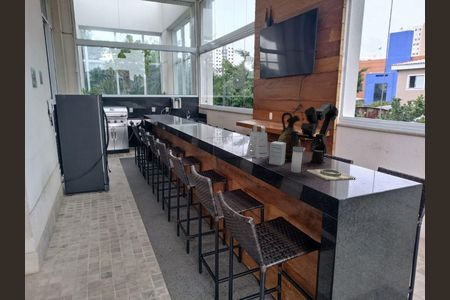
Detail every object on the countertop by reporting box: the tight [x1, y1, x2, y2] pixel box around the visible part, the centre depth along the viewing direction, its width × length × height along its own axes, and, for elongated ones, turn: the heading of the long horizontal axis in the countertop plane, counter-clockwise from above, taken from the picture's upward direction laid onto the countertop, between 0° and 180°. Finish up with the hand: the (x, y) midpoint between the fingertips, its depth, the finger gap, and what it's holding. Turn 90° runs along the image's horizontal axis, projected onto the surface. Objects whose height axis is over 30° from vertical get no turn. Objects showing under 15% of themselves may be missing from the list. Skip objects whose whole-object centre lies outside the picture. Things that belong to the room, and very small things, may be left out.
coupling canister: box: [290, 146, 304, 174], centre depth 145 cm, size 5×5×13 cm
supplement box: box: [268, 140, 286, 166], centre depth 161 cm, size 7×7×13 cm
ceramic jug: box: [276, 111, 302, 161], centre depth 175 cm, size 17×15×30 cm
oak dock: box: [306, 168, 356, 182], centre depth 142 cm, size 17×17×2 cm
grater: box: [245, 124, 269, 159], centre depth 180 cm, size 10×10×20 cm
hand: (301, 149), depth 148 cm, fingers open, 9 cm apart
